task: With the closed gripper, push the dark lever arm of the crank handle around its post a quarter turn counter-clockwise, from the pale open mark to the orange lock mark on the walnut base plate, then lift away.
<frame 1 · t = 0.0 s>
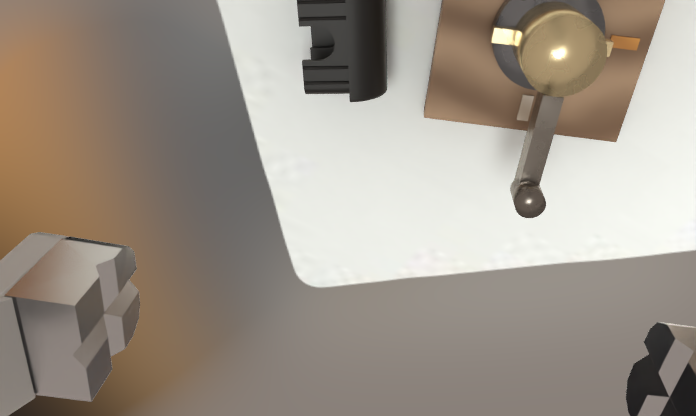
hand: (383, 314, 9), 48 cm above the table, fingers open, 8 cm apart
post collar: (546, 35, 50), on the base plate, point 2 cm above the table
crank handle: (542, 110, 48), point 8 cm above the table, hinge at 0.0°
base plate: (540, 27, 53), on the table
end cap: (350, 26, 55), on the table
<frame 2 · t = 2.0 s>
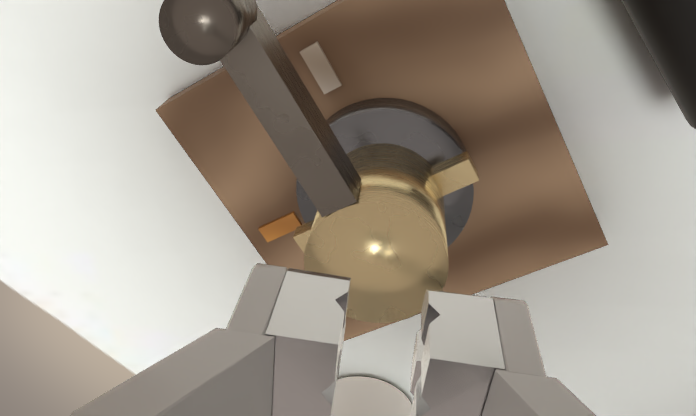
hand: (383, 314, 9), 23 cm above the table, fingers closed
pill bottle: (362, 410, 43), on the table
post collar: (384, 186, 31), on the base plate, point 2 cm above the table
crank handle: (323, 151, 24), point 8 cm above the table, hinge at 0.0°
base plate: (387, 163, 33), on the table
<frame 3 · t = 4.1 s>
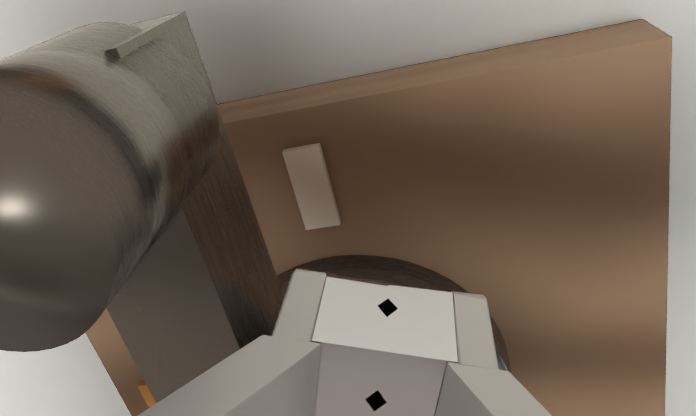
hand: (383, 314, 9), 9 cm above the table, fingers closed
post collar: (364, 394, 18), on the base plate, point 2 cm above the table
base plate: (371, 330, 21), on the table
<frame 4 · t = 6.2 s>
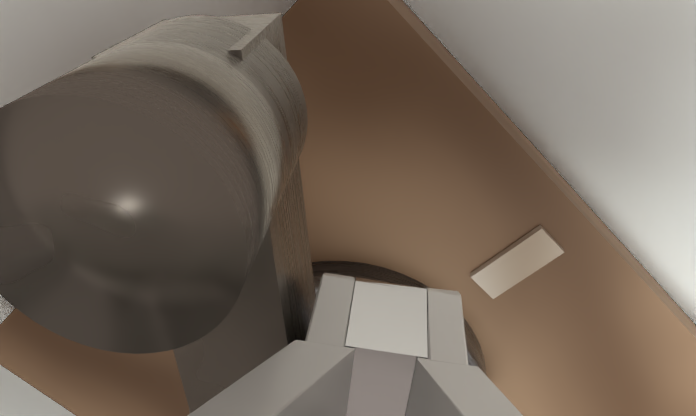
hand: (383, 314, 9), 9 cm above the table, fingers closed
post collar: (341, 399, 18), on the base plate, point 2 cm above the table
base plate: (350, 335, 21), on the table
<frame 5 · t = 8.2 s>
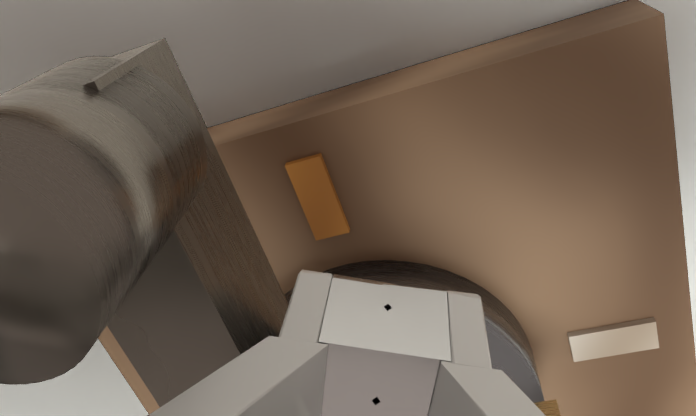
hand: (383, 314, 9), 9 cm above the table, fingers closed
post collar: (389, 399, 18), on the base plate, point 2 cm above the table
base plate: (393, 334, 21), on the table
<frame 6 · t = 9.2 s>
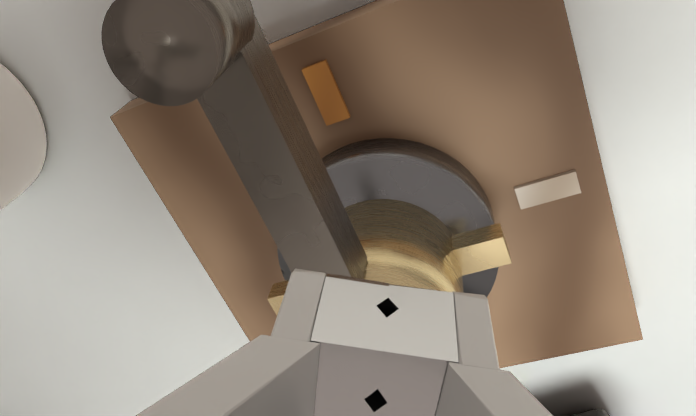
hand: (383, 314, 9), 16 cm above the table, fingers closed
post collar: (387, 246, 25), on the base plate, point 2 cm above the table
crank handle: (321, 216, 18), point 8 cm above the table, hinge at 89.8°
base plate: (391, 210, 27), on the table
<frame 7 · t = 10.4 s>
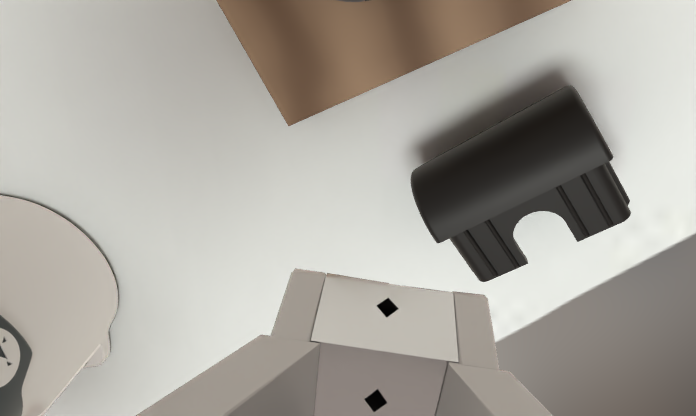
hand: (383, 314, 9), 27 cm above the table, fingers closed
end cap: (509, 154, 37), on the table
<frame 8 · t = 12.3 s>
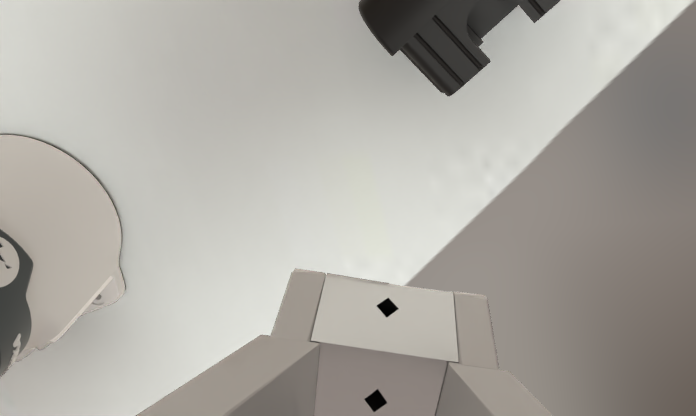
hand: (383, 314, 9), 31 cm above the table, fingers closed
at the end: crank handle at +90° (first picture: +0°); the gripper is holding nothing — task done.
